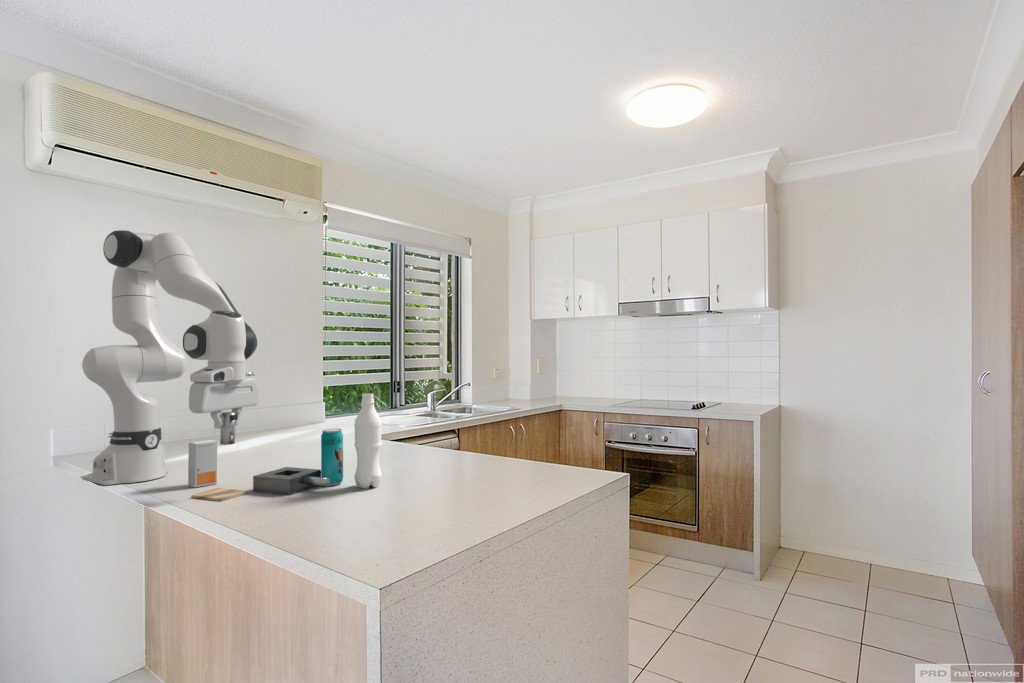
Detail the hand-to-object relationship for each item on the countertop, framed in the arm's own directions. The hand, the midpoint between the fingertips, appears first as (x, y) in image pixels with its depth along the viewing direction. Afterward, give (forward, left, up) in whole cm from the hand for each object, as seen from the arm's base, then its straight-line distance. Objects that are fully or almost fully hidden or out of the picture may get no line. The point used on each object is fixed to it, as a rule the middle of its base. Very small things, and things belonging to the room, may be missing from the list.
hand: (226, 426), depth 143 cm
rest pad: (-1, -2, -17) cm, 17 cm away
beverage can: (+19, +17, -18) cm, 31 cm away
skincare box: (-15, +5, -18) cm, 24 cm away
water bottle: (+30, +18, -18) cm, 40 cm away
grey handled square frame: (+14, +10, -17) cm, 25 cm away
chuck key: (0, 0, -4) cm, 4 cm away
